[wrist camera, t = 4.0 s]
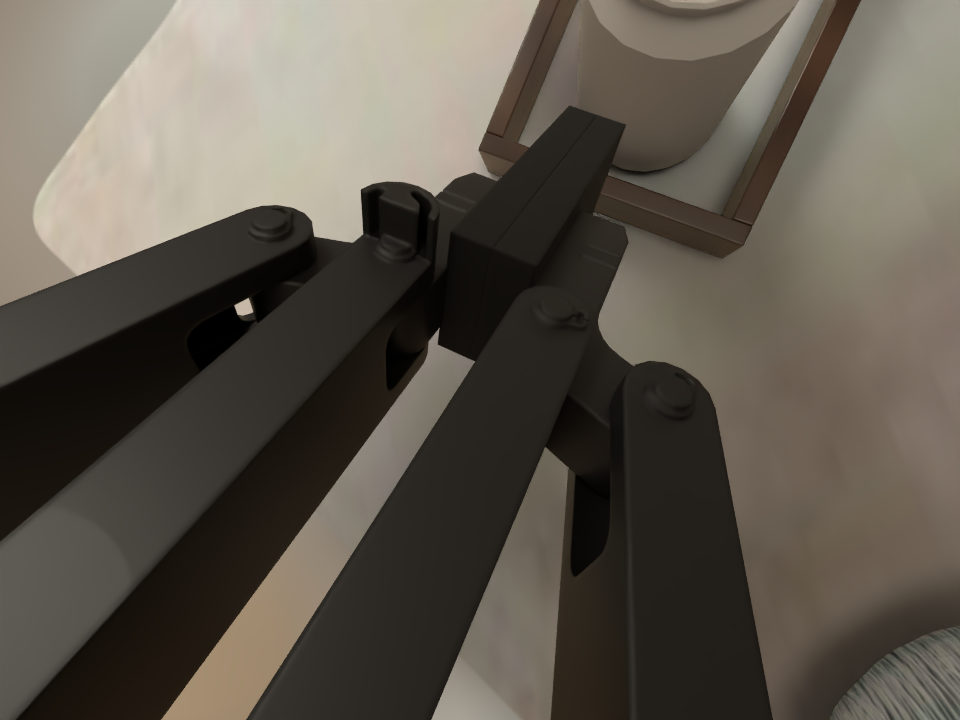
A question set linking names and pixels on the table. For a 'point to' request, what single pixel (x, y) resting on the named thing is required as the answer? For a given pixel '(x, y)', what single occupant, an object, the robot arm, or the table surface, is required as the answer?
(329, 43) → the table surface
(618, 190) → the walnut frame
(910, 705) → the streaked grey-green pebble
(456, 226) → the robot arm
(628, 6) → the can
